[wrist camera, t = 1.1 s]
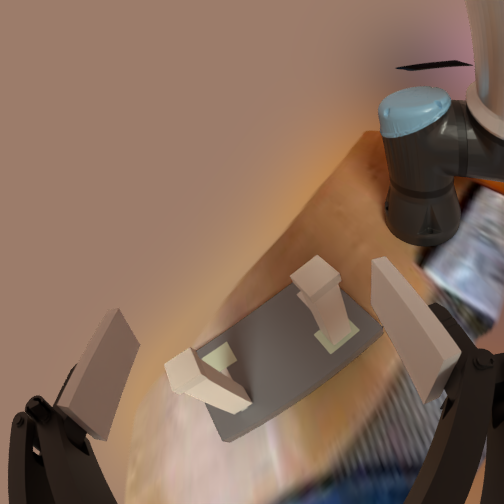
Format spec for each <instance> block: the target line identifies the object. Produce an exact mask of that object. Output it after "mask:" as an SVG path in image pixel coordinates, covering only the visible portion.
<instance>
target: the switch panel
mask: <svg viewBox="0 0 504 504" xmlns="http://www.w3.org/2000/svg"><path fill="white" fill-rule="evenodd" d="M339 288H340V287H339ZM340 291H341V295H342V298H343V302H344V305H345V309H346V312H347V316H348V320H349V324H350V327H351V332H350V333H349V334H348V335H346V336H345V337H344V338H343V339H342V340H340V341H339V342H338V343H337V344H335V345H333V344H332V343H331V342H330V341H329V340H328V339H327V337H326V336H325V335H324V334H323V333H322V332H321V330H320V328H319V326H318V324H317V322H316V320H315V318H314V316H313V314H312V312H311V310H310V308H309V306H308V304H307V302H306V300H305V298H304V296H303V294H302V292H301V290H300V289H299V288H298V287H297V286H296V285H295V284H294V283H293V282H292V283H291V284H290V285H288V286H287V287H286V288H284V289H283V290H282V291H280V292H279V293H278V294H276V295H275V296H274V297H272V298H271V299H270V300H268V301H267V302H266V303H264V304H263V305H261V306H260V307H259V308H257V309H256V310H255V311H253V312H252V313H250V314H249V315H248V316H246V317H245V318H243V319H242V320H241V321H239V322H238V323H236V324H235V325H234V326H232V327H231V328H229V329H228V330H226V331H225V332H224V333H222V334H221V335H219V336H218V337H216V338H215V339H213V340H212V341H210V342H209V343H208V344H206V345H205V346H203V347H202V348H200V349H199V350H197V351H196V352H197V354H198V356H199V358H200V359H201V360H203V361H204V362H206V363H207V364H209V365H210V366H212V367H213V368H215V369H216V370H218V371H219V372H221V373H222V374H224V375H225V376H227V377H228V378H230V379H232V380H233V381H235V382H236V383H238V384H240V385H241V386H243V387H244V389H245V391H246V393H247V395H248V396H249V398H250V400H251V402H252V404H251V405H249V406H247V407H246V408H244V409H243V410H241V411H239V412H237V413H236V414H232V413H229V412H227V411H224V410H222V409H219V408H217V407H215V406H212V405H210V404H208V403H205V404H206V407H207V409H208V411H209V413H210V416H211V418H212V420H213V422H214V424H215V427H216V429H217V431H218V433H219V435H220V437H221V439H222V441H224V442H229V443H230V442H232V441H234V440H235V439H237V438H239V437H241V436H243V435H245V434H246V433H248V432H250V431H252V430H253V429H255V428H257V427H259V426H260V425H262V424H264V423H265V422H267V421H269V420H270V419H272V418H274V417H275V416H277V415H278V414H280V413H282V412H283V411H285V410H286V409H288V408H289V407H291V406H292V405H294V404H295V403H297V402H298V401H300V400H301V399H303V398H304V397H305V396H307V395H308V394H310V393H311V392H313V391H314V390H315V389H317V388H318V387H319V386H321V385H322V384H323V383H325V382H326V381H327V380H329V379H330V378H331V377H333V376H334V375H335V374H337V373H338V372H339V371H340V370H342V369H343V368H344V367H345V366H347V365H348V364H349V363H350V362H351V361H353V360H354V359H355V358H356V357H357V356H359V355H360V354H361V353H362V352H363V351H364V350H366V349H367V348H368V347H369V346H370V345H371V344H372V343H374V342H375V341H376V340H377V339H378V338H379V337H380V336H381V335H382V334H383V327H382V326H381V325H380V324H379V323H378V322H377V321H376V320H375V319H374V318H373V317H371V316H370V315H369V314H368V313H367V312H366V311H365V310H364V309H363V308H362V307H361V306H360V305H358V304H357V303H356V302H355V301H354V300H353V299H352V298H351V297H350V296H349V295H347V294H346V293H345V292H344V291H343V290H342V289H341V288H340Z"/></svg>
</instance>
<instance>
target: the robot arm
mask: <svg viewBox="0 0 504 504" xmlns="http://www.w3.org/2000/svg"><path fill="white" fill-rule="evenodd" d="M465 4H466V8H467V13H468V18H469V23H470V29H471V36H472V43H473V51H474V62H475V78H476V81H475V82H473V83H472V84H470V86H469V87H468V89H467V91H466V101H463V100H451V98H450V96H449V95H448V93H447V92H446V91H445V90H443V89H441V88H437V87H433V88H432V87H430V86H421V87H412V88H407V89H403V90H400V91H397V92H395V93H393V94H390V95H389V96H387V97H386V98H385V99H384V100H382V102H381V103H380V105H379V108H378V115H379V121H380V133H381V135H382V138H383V142H384V148H385V153H386V158H387V164H388V170H389V176H390V186H389V190H388V194H387V198H386V202H385V219H386V223H387V226H388V228H389V229H390V231H391V232H392V233H393V234H394V235H395V236H396V237H397V238H399V239H401V240H402V241H404V242H407V243H409V244H412V245H417V246H435V245H439V244H442V243H444V242H446V241H448V240H449V239H451V238H452V237H453V236H454V235H455V233H456V232H457V230H458V228H459V224H460V216H461V210H460V205H459V202H458V198H457V194H456V190H455V187H454V176H460V177H470V178H478V179H486V180H492V181H499V182H504V0H465ZM371 306H372V308H373V309H374V311H375V313H376V314H377V316H378V318H379V320H380V321H381V323H382V325H383V327H384V328H385V330H386V332H387V334H388V336H389V337H390V339H391V341H392V343H393V345H394V347H395V348H396V350H397V352H398V354H399V356H400V358H401V360H402V362H403V364H404V365H405V367H406V369H407V371H408V373H409V375H410V377H411V379H412V381H413V383H414V385H415V387H416V389H417V391H418V394H419V396H420V398H421V400H422V402H423V404H426V403H428V402H430V401H432V400H435V399H437V398H439V397H440V396H441V394H442V392H443V390H445V391H446V393H447V395H448V396H447V397H446V399H445V401H444V402H443V404H442V406H441V408H440V409H443V410H442V414H441V417H440V420H439V423H438V426H437V429H436V432H435V435H434V438H433V441H432V443H431V446H430V448H429V451H428V453H427V456H426V458H425V461H424V463H423V465H422V467H421V470H420V472H419V474H418V476H417V478H416V480H415V482H414V484H413V486H412V488H411V490H410V492H409V494H408V496H407V498H406V500H405V501H404V503H403V504H464V503H465V501H466V498H467V496H468V494H469V491H470V488H471V486H472V483H473V480H474V477H475V475H476V472H477V469H478V465H479V462H480V459H481V455H482V452H483V448H484V444H485V440H486V436H487V451H486V465H485V475H484V484H483V490H482V496H481V502H480V504H504V353H500V354H495V355H493V354H492V353H491V352H490V351H488V350H485V349H478V348H477V347H476V346H475V345H474V344H473V342H472V341H471V340H470V338H469V337H468V336H467V334H466V333H465V332H464V330H463V329H462V328H461V327H460V325H459V324H457V322H456V320H455V319H454V318H452V315H451V314H450V313H449V312H448V310H447V309H446V308H444V307H443V306H441V305H439V304H438V303H434V304H431V305H428V306H427V305H426V303H425V302H424V301H423V300H422V298H421V297H420V296H419V295H418V293H417V292H416V291H415V290H414V289H413V287H412V286H411V285H410V284H409V283H408V281H407V280H406V279H405V278H404V277H403V276H402V274H401V273H400V272H399V271H398V270H397V269H396V268H395V266H394V265H393V264H392V263H391V262H390V261H389V260H388V259H387V258H386V256H385V257H380V258H376V259H372V277H371ZM139 347H140V344H139V342H138V340H137V339H136V337H135V335H134V334H133V332H132V330H131V329H130V327H129V325H128V323H127V322H126V320H125V319H124V316H123V315H122V313H121V311H120V309H119V308H117V309H111V310H108V311H107V313H106V314H105V316H104V318H103V319H102V321H101V323H100V324H99V326H98V328H97V329H96V331H95V333H94V335H93V336H92V338H91V340H90V342H89V343H88V345H87V347H86V349H85V351H84V352H83V354H82V356H81V358H80V360H79V362H78V363H77V364H76V365H75V366H74V367H73V368H72V369H71V371H70V373H69V375H68V377H67V379H66V381H65V383H64V386H62V389H61V390H60V392H59V394H58V397H57V399H56V401H55V403H54V405H53V407H51V406H50V405H49V404H48V403H47V402H46V401H45V400H44V399H43V398H42V397H41V396H34V397H32V398H31V399H30V400H29V401H28V403H27V404H26V407H25V412H26V413H27V414H28V415H27V414H26V413H25V412H20V413H18V414H16V415H15V417H14V419H13V422H12V428H11V436H10V447H9V463H8V493H9V504H117V502H116V500H115V498H114V496H113V494H112V492H111V490H110V488H109V486H108V484H107V482H106V480H105V478H104V476H103V474H102V471H101V469H100V467H99V464H98V462H97V460H96V457H95V455H94V452H93V450H92V447H91V445H90V442H89V440H88V439H87V438H86V434H87V433H88V434H89V435H91V436H92V437H93V438H94V439H99V440H103V441H107V438H108V435H109V432H110V428H111V425H112V422H113V419H114V416H115V413H116V410H117V407H118V404H119V401H120V398H121V395H122V392H123V389H124V387H125V384H126V381H127V378H128V376H129V373H130V370H131V367H132V365H133V362H134V359H135V357H136V354H137V352H138V349H139ZM33 447H35V448H36V449H37V450H39V451H40V454H39V455H37V454H36V453H35V452H33Z"/></svg>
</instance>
